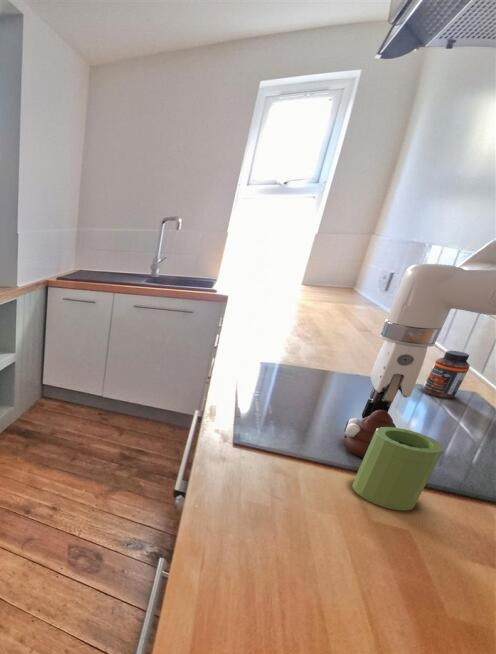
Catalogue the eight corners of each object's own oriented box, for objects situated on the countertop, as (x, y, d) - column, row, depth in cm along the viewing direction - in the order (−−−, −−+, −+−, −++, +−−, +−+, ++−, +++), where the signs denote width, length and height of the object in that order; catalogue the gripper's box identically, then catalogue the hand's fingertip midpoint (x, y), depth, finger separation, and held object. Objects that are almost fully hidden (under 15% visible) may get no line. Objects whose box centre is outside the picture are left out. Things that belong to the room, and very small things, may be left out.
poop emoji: (394, 469, 76) (415, 425, 73) (336, 452, 82) (352, 410, 78) (396, 448, 83) (415, 407, 79) (342, 433, 88) (357, 394, 85)
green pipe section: (372, 477, 74) (396, 424, 70) (426, 505, 67) (456, 447, 63) (341, 485, 72) (363, 430, 68) (393, 514, 65) (422, 456, 61)
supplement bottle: (415, 390, 108) (434, 350, 104) (430, 388, 110) (449, 347, 106) (445, 400, 103) (465, 357, 99) (460, 397, 105) (481, 355, 100)
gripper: (448, 347, 69) (403, 441, 76) (427, 327, 80) (389, 411, 88) (388, 339, 73) (351, 429, 80) (376, 321, 84) (344, 402, 92)
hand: (371, 419), depth 84 cm, fingers closed
